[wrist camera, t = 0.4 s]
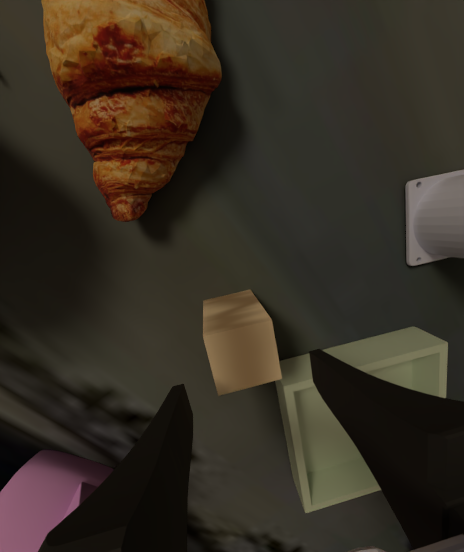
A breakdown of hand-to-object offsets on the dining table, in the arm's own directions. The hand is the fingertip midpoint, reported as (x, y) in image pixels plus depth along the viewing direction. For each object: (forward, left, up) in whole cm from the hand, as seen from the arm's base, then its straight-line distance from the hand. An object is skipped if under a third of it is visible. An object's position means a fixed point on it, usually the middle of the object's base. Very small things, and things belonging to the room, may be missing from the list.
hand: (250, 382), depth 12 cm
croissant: (+2, -20, -10) cm, 22 cm away
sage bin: (-11, +14, -9) cm, 20 cm away
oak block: (0, 0, -9) cm, 9 cm away
